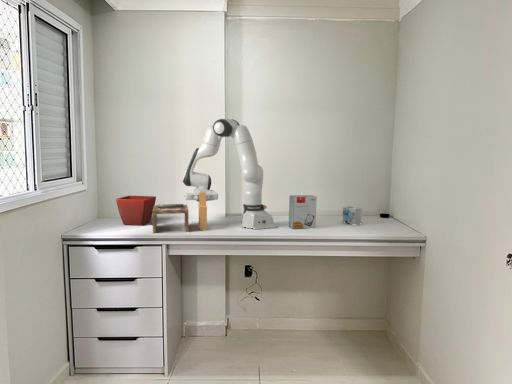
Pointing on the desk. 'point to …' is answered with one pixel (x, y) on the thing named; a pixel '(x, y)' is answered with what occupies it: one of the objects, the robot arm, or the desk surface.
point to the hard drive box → (302, 211)
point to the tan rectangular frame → (177, 207)
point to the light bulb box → (352, 215)
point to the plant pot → (136, 209)
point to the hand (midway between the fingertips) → (202, 198)
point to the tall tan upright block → (202, 211)
